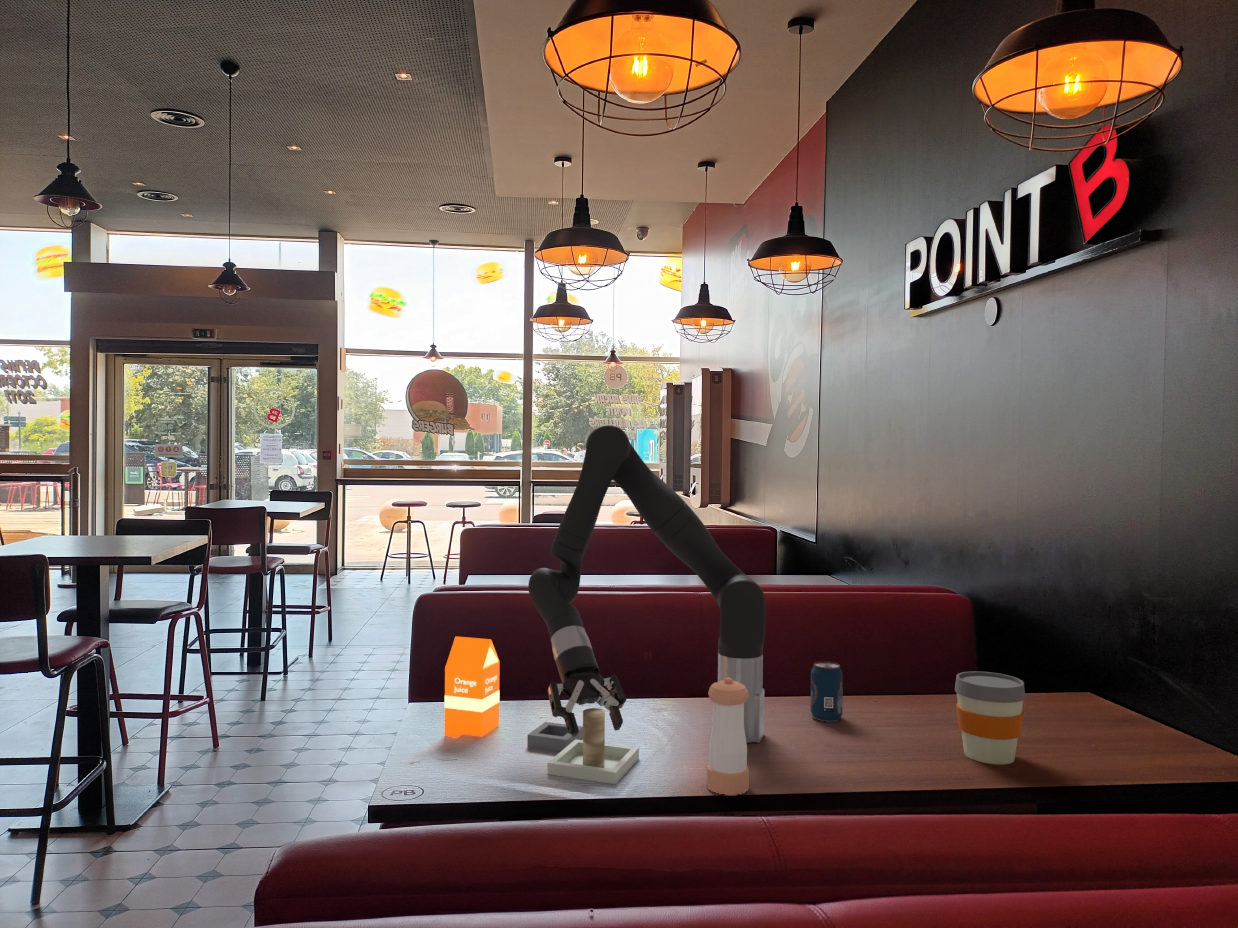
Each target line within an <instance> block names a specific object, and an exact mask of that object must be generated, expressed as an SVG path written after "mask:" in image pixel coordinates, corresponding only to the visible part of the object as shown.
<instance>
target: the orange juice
mask: <svg viewBox="0 0 1238 928" xmlns="http://www.w3.org/2000/svg"><path fill="white" fill-rule="evenodd" d="M500 663H501V661H500V659H499V657H498V653H497V650H496V649H495V646H494V644H493V641H492V639H491V638H490V639H489V638H478V637H466V636H455V637H454V640H453V643H452V645H451V649H450V652H449V655H448V658H447V661H446V664H445V666H444V737H445V736H448V737H447V738H450V737H456V738H455V739H458V738H459V737H461V736H463V735H465V736H472V737H473V736H474V737H481V738H483V737H484V736H486V735H487V734H488V733H490V732H492V731H494V730H495V729H496V728H498V727H499V726H500V698H501V697H500V695H501V694H500V668H501V667H500Z"/></svg>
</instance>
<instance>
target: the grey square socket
mask: <svg viewBox="0 0 1238 928" xmlns="http://www.w3.org/2000/svg"><path fill="white" fill-rule="evenodd" d="M577 726H578V729H579V733H578V734H577V736H575V737H572V735H571V734H569V733H568V731H567V727H566V724H565V723H558V722H549V721H545V722H543V723H542V724H541V725H539V726H538V727H536V728H535V729H534V730H532V731H531V732H529V733H528V734H527V738H526V739H527V749H535V750H540V751H547V752H555V753H560V752H561V751H562V750H563V749H564V748H566V747H567V746H568V745H569V744H570V743H572V742H573V741H574V740H575V739H576V740H583V725H581V726H580V725H577Z"/></svg>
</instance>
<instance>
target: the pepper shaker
mask: <svg viewBox="0 0 1238 928" xmlns="http://www.w3.org/2000/svg"><path fill="white" fill-rule="evenodd" d="M748 696H749V693H748V690H747V688H746V687H745V686H744V685H743V684H741V683H739V682H737V681H733V679H732V678H730V677H727V678H725V679H724V680H722V681H718V680H717V681H716V682H713V683H711V685H710V686H709V690H708V697H709V700H710V701H711V702H712V722H711V723H712V724H711V731H710V737H709V744H708V762H709V763H708V764H707V765H706V788H707V789H708V790H709V791H710V790H711V791H710V792H712V791H713V792H712V793H714V792H716V793H715V794H717V793H720V794H719V795H721V794H725V795H724V796H738V795H737V794H740V795H743V794H745V792H746V791H747V792H748V791H749V788H750V787H749V785H750V783H749V778H750V776H749V774H750V773H749V772H750V769H749V767H748V765H747V762H748V761H747V760H748V759H747V757H748V745H747V744H748V743H746V737H745V730H744V703H745V702H746V701H747V699H748ZM747 792H746V793H747ZM742 793H743V794H742Z"/></svg>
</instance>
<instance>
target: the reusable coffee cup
mask: <svg viewBox="0 0 1238 928" xmlns="http://www.w3.org/2000/svg"><path fill="white" fill-rule="evenodd" d="M955 677H956V678H955V684H954V691H955V693H956V696H957V697H956V699H957V703H956V704H955V707H956V716H957V723H958V728H959V729H960V731H961V737H962V738H961V739H962V746H963V752H964V755H965V757H968V758H969V759H971V760H974V761H977V762H980V763H984V764H990V765H1009V764H1012V763H1014V762H1015V759H1016V753H1017V752H1016V751H1017V744H1018V739H1019V737H1021V735H1022V728H1023V720H1024V713H1025V712H1024V711H1023V704H1024V700H1026V690H1025V682H1024V680H1022V679H1020V678H1018V677H1015V676H1012V675H1007V674H1003V673H997V672H990V671H979V670H978V671H974V670H973V671H963V672H960V673H959V672H958V673H957V674H956V676H955Z"/></svg>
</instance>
